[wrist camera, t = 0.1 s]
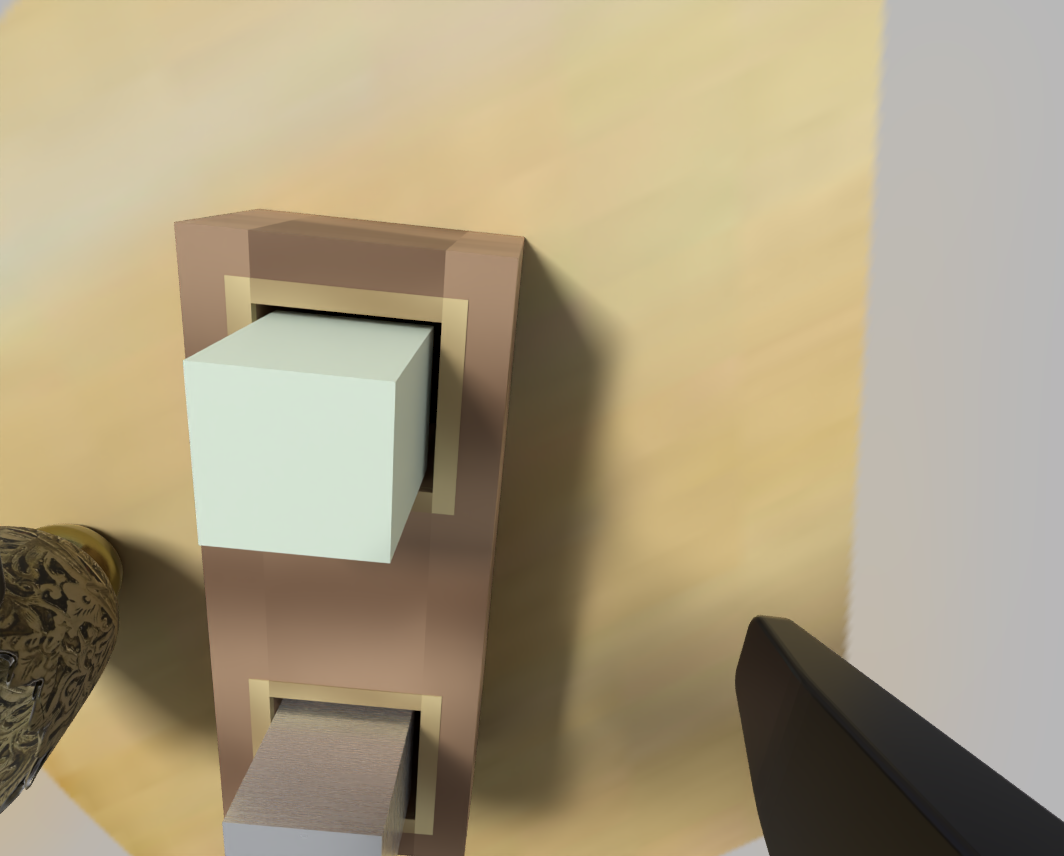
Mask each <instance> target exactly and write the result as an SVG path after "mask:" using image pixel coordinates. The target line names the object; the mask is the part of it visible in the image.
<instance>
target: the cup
mask: <svg viewBox="0 0 1064 856" xmlns="http://www.w3.org/2000/svg"><path fill="white" fill-rule="evenodd" d="M0 555H1V561H2V566H3V572H4V578H5V584H6V590H5V596H4V599H3V601H2V604H1V606H0V814H1V813H2V812H3V811H4V810H5V809H6V808H7V807H8V806H9V805H10V804H11V803H12V802H13V801H14V800H15V799H16V798H17V797H18V796H19V794H20V793H21V792H22V790H23V789H24V788H26V790H27V789H28V788H29V787H30V786H31V785H32V783H33V781H34V779H35V777H36V775H37V773H38V772H39V770H40V769H41V767H42V766H43V764H44V763H45V761H46V760H47V758H48V757H49V755H50V754H51V752H52V751H53V749H54V748H55V746H56V745H57V743H58V742H59V740H60V739H61V737H62V736H63V734H64V733H65V731H66V730H67V728H68V727H69V725H70V724H71V722H72V721H73V719H74V718H75V716H76V715H77V713H78V712H79V710H80V709H81V707H82V706H83V704H84V703H85V701H86V699H87V698H88V696H89V695H90V693H91V691H92V690H93V688H94V687H95V685H96V683H97V681H98V680H99V678H100V676H101V674H102V673H103V671H104V669H105V667H106V665H107V663H108V661H109V658H110V656H111V654H112V651H113V649H114V646H115V642H116V638H117V633H118V628H119V611H118V603H117V598H116V597H117V595H118V593H119V590H120V587H121V583H122V578H123V568H122V563H121V560H120V557H119V555H118V553H117V552H116V550H115V549H114V547H113V546H112V545H111V544H110V543H109V542H108V541H107V540H106V539H105V538H104V537H103V536H101V535H100V534H98V533H97V532H95V531H93V530H91V529H89V528H86V527H83V526H80V525H75V524H54V525H48V526H44V527H40V528H37V529H32V528H25V527H10V526H0ZM33 777H34V778H33ZM32 778H33V780H32ZM30 780H32V782H31V783H29V782H30Z"/></svg>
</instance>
